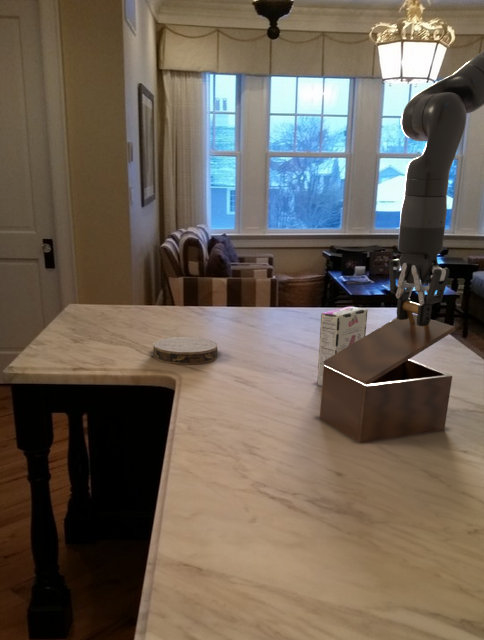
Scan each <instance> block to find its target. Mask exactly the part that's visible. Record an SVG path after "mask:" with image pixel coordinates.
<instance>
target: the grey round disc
mask: <svg viewBox="0 0 484 640" xmlns="http://www.w3.org/2000/svg"><path fill="white" fill-rule="evenodd" d="M152 351H153V358H154V359H155V360H157V361H159V362H162V363H165V364H166V363H167V364H171V365H201V364H207V363H211V362H213V361H215V360H217V359H218V343H217V342H216V341H214V340H212V339H209V338H205V337H204V338H203V337H193V336H173V337H166V338H161V339H157V340H156V341H154V342H153V350H152Z"/></svg>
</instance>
